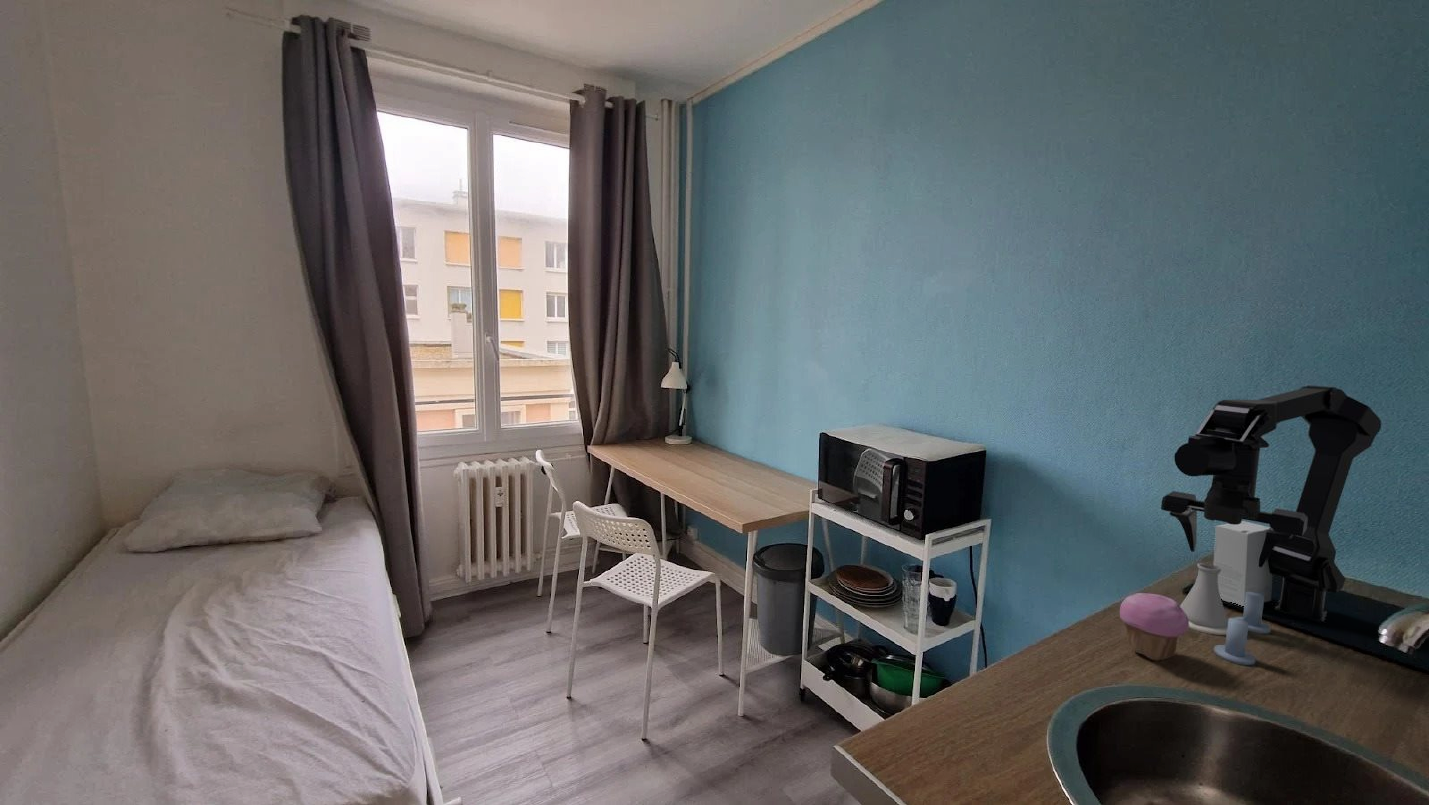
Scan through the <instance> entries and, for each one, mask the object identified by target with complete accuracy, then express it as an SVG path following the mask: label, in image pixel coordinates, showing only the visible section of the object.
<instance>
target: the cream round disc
mask: <svg viewBox="0 0 1429 805" xmlns="http://www.w3.org/2000/svg"><path fill="white" fill-rule="evenodd" d="M1188 621H1189V620H1188ZM1227 628H1228V627H1219V628H1214V627H1209V626H1205V625H1200V624H1195V623H1193V622H1191V621H1189V628H1188V629H1191V630H1194V631H1197V632H1200V633H1205V634H1209V635H1216V636H1227Z"/></svg>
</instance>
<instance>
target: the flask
mask: <svg viewBox="0 0 1429 805" xmlns="http://www.w3.org/2000/svg"><path fill="white" fill-rule="evenodd" d="M1196 565H1197V568H1198V572H1197V573H1198V574H1197V577H1196V580H1195V583H1193V586H1192V587H1191V589H1190V591H1189V592H1188V594H1187V595H1186V597H1184V600H1182V602H1181V604H1180V605H1179V606H1180V607H1181V608H1182V609H1183V611H1184V612H1185V614H1186V615H1187V617H1188V620H1189V621H1191V622H1193V623H1195V624H1200V625H1205V626H1209V627H1214V628H1219V627H1228V620H1229V618H1228V617H1227V614H1226V611H1225V607H1224V604H1223V602H1222V601H1223V600H1221V597H1220V594H1219V589H1218V581H1217V580H1218V573H1220V572H1221V569H1220V568H1219V567H1217V566H1214V564H1209V563H1204V562H1203V563H1201V562H1200V563H1197V564H1196Z"/></svg>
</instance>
